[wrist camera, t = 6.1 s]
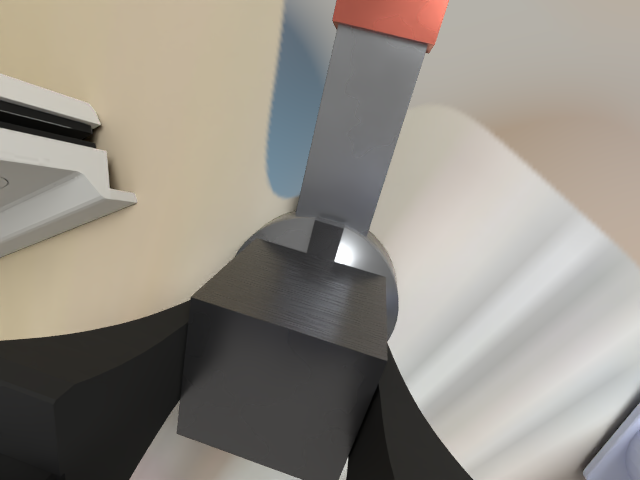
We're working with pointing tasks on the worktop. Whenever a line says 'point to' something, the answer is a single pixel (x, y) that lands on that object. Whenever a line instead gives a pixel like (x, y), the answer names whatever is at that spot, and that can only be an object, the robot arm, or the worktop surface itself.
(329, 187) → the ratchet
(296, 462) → the brushed grey cube
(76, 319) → the worktop surface
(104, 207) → the white electronic device
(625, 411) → the worktop surface
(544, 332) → the worktop surface
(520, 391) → the worktop surface
